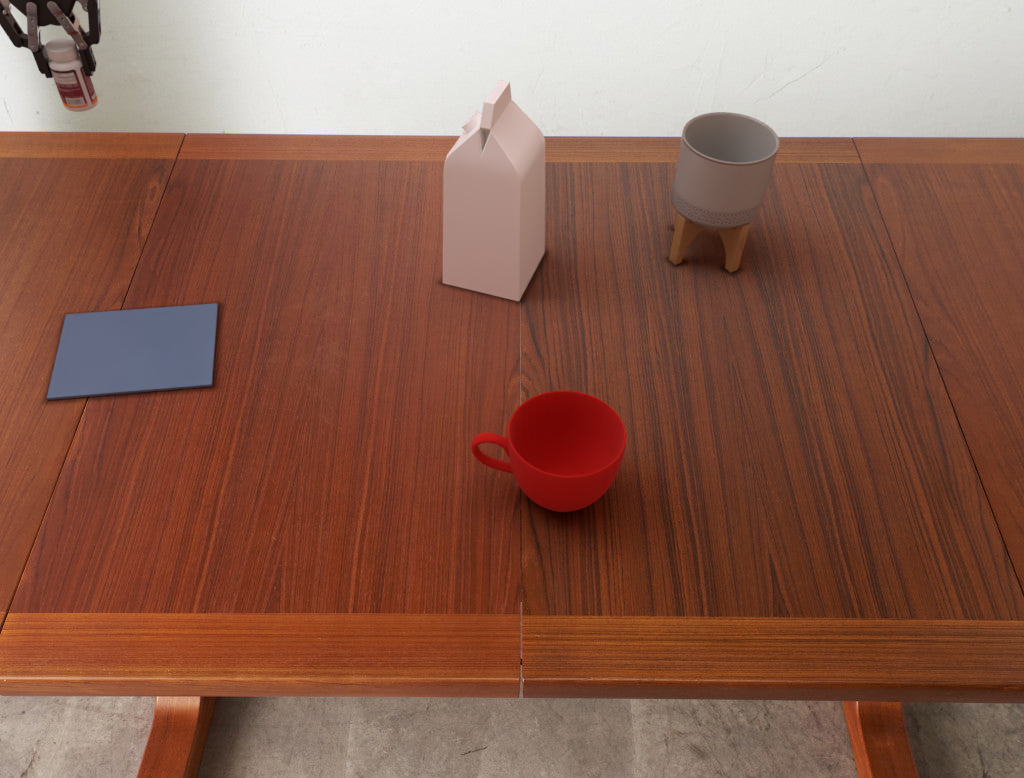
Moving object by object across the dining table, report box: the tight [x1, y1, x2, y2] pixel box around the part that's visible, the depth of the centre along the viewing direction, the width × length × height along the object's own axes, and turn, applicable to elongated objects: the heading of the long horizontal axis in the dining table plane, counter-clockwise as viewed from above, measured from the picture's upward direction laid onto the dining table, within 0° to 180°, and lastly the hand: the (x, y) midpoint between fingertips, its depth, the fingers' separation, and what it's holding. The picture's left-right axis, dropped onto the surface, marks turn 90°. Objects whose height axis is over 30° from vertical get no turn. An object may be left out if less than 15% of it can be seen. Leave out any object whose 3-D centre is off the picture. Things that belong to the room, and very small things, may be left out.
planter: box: [668, 111, 780, 273], centre depth 128 cm, size 13×13×18 cm
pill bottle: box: [44, 37, 99, 113], centre depth 126 cm, size 5×5×8 cm
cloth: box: [46, 302, 219, 401], centre depth 118 cm, size 20×16×1 cm
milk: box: [442, 79, 546, 302], centre depth 120 cm, size 12×12×26 cm
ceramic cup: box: [470, 389, 627, 513], centre depth 101 cm, size 13×17×10 cm
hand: (70, 73), depth 126 cm, fingers closed on pill bottle, 4 cm apart
